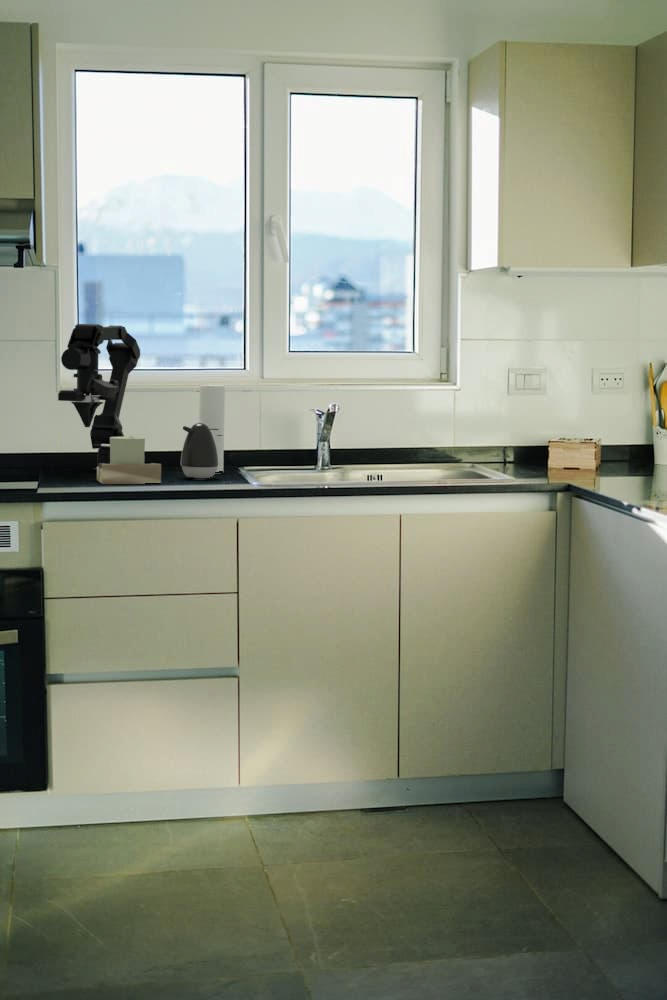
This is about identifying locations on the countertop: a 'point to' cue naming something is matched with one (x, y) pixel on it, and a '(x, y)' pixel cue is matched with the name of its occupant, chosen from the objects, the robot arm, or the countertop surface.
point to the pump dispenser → (199, 452)
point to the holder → (129, 473)
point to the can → (127, 450)
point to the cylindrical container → (213, 416)
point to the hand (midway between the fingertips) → (87, 427)
